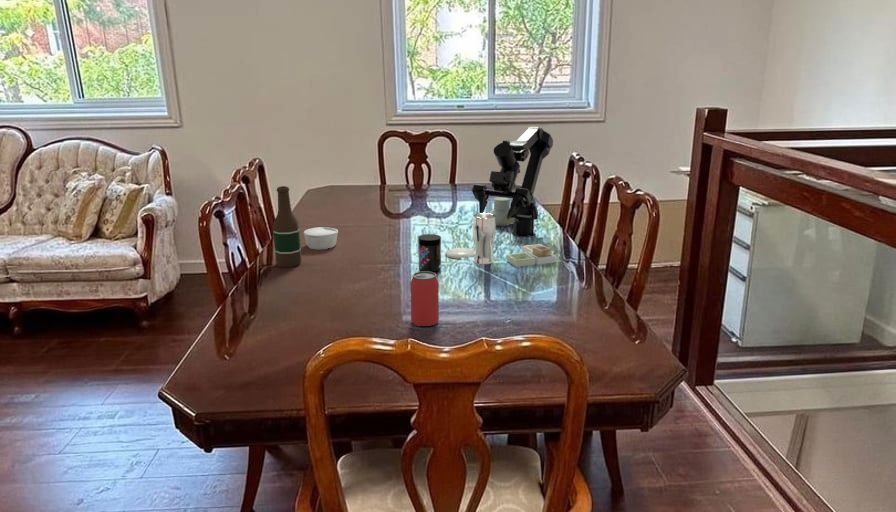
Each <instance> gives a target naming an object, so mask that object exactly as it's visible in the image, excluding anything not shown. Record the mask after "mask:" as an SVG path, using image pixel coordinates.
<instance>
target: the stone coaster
mask: <svg viewBox="0 0 896 512" xmlns="http://www.w3.org/2000/svg"><path fill="white" fill-rule="evenodd" d="M445 256H446V257H448V258H451V259H455V260H462V259H464V258H465V259H466V258H472V257H475V249H471V248H467V247H457V248H456V247H455V248H451V249H448V250H446V251H445Z"/></svg>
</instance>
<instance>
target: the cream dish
mask: <svg viewBox="0 0 896 512" xmlns="http://www.w3.org/2000/svg"><path fill="white" fill-rule="evenodd" d="M538 246H544V245H543V244H541V243H535V244H527V245H522V252H521V253H524V252H525V253H527V254H528V252H533V247H538Z"/></svg>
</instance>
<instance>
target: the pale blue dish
mask: <svg viewBox="0 0 896 512" xmlns="http://www.w3.org/2000/svg"><path fill="white" fill-rule="evenodd" d="M528 254H529V255H531V256H532V257H534V258H535V265H540V266H541V265H545V264H553V263H556V262H557V256H556V255H555V254H553V253H551V256H547V257H540V258H538V257H537V256H535V255H533V252H528Z"/></svg>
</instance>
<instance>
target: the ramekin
mask: <svg viewBox="0 0 896 512" xmlns="http://www.w3.org/2000/svg"><path fill="white" fill-rule="evenodd" d="M338 235H339V230H338V229H337V228H333V227H328V226H320V227H319V226H318V227H312V228H308V229H307V228H306V229H305V230H304V231H303V236H304V239H305V243H306V246H307V247H308V248H309V249H311V250H319V251H320V250H328V248H329V249H332V248H334V247H335V246H336V245H337V240H338Z"/></svg>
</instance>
